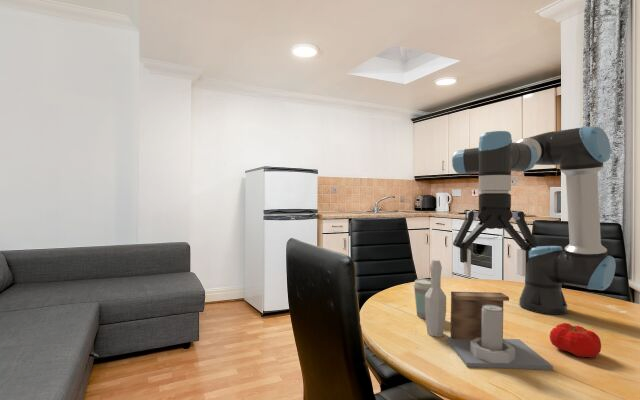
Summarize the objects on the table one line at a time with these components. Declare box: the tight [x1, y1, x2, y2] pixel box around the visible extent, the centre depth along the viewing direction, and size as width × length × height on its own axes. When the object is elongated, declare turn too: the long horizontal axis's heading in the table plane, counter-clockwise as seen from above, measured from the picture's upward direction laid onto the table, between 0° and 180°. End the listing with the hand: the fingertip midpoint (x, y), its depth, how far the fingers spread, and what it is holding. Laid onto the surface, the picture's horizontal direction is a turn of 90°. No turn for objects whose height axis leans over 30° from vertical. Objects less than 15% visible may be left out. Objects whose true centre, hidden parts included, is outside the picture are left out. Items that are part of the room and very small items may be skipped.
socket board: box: [446, 336, 554, 371], centre depth 94 cm, size 20×16×4 cm
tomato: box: [549, 322, 602, 358], centre depth 95 cm, size 10×11×6 cm
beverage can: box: [481, 305, 504, 351], centre depth 91 cm, size 5×5×12 cm
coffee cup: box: [412, 278, 431, 320], centre depth 123 cm, size 8×9×12 cm
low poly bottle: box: [425, 259, 447, 338], centre depth 107 cm, size 6×6×22 cm
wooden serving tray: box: [450, 291, 510, 339], centre depth 99 cm, size 14×4×14 cm, turn 87°
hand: (494, 274), depth 92 cm, fingers open, 13 cm apart
